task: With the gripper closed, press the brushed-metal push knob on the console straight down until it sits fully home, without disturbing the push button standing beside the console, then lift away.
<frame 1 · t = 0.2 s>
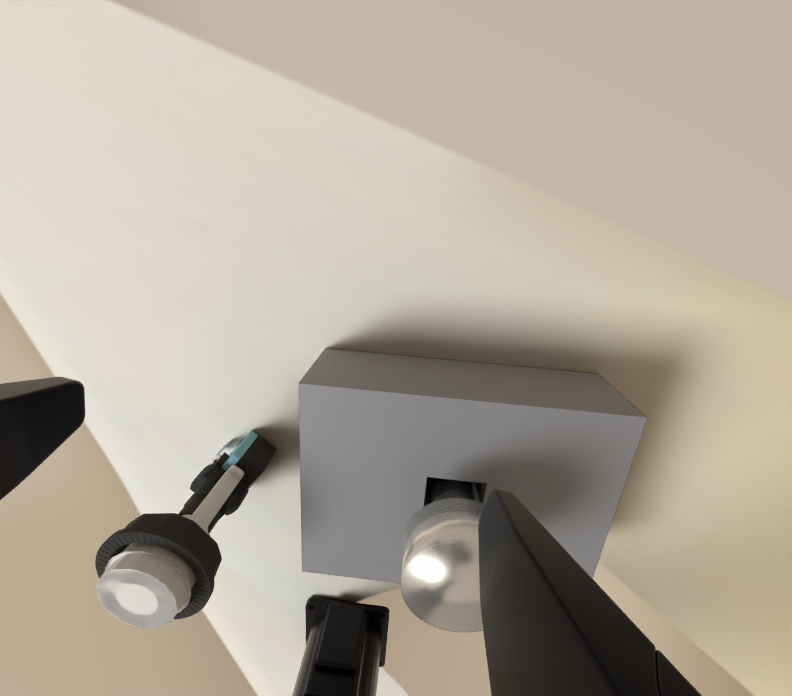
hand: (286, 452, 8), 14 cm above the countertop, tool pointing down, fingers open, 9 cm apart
knob: (454, 518, 18), point 6 cm above the countertop, slide at 0.0 cm
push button: (239, 461, 26), on the countertop
console: (447, 447, 24), on the countertop
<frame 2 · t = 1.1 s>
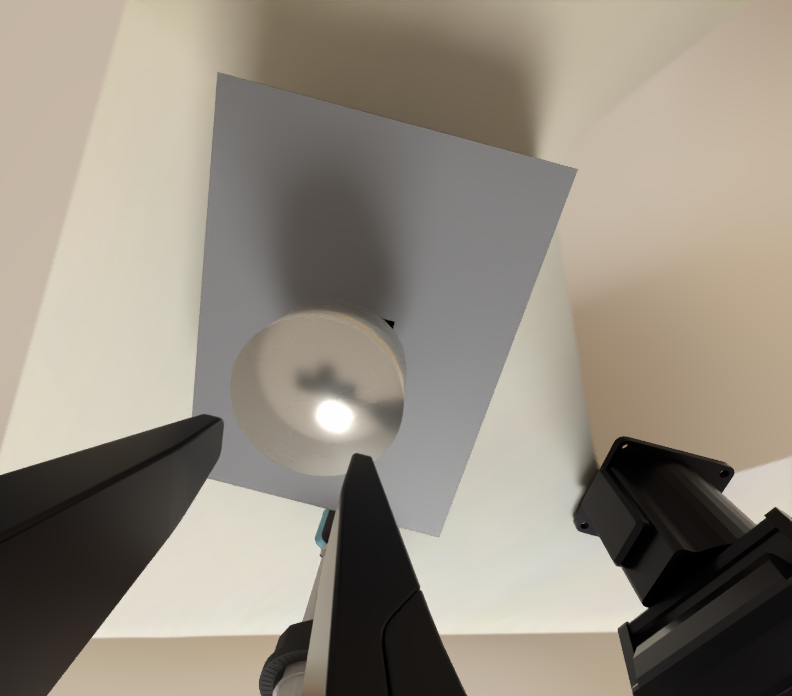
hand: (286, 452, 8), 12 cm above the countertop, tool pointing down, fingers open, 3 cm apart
knob: (343, 355, 14), point 6 cm above the countertop, slide at 0.0 cm
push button: (365, 530, 24), on the countertop
console: (367, 317, 19), on the countertop
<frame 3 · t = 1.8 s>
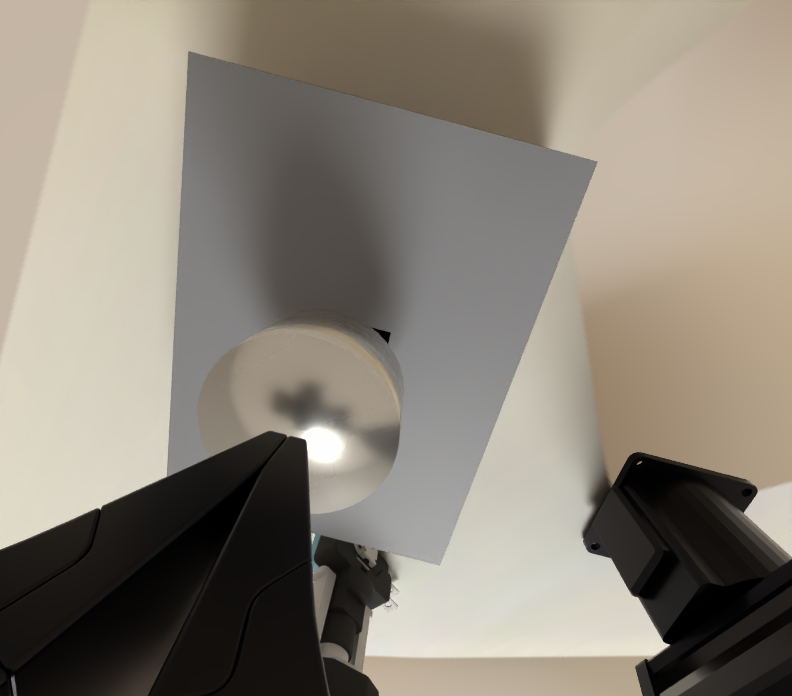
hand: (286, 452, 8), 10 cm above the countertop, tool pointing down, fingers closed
knob: (333, 371, 12), point 6 cm above the countertop, slide at 0.0 cm
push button: (361, 549, 23), on the countertop
console: (362, 324, 18), on the countertop
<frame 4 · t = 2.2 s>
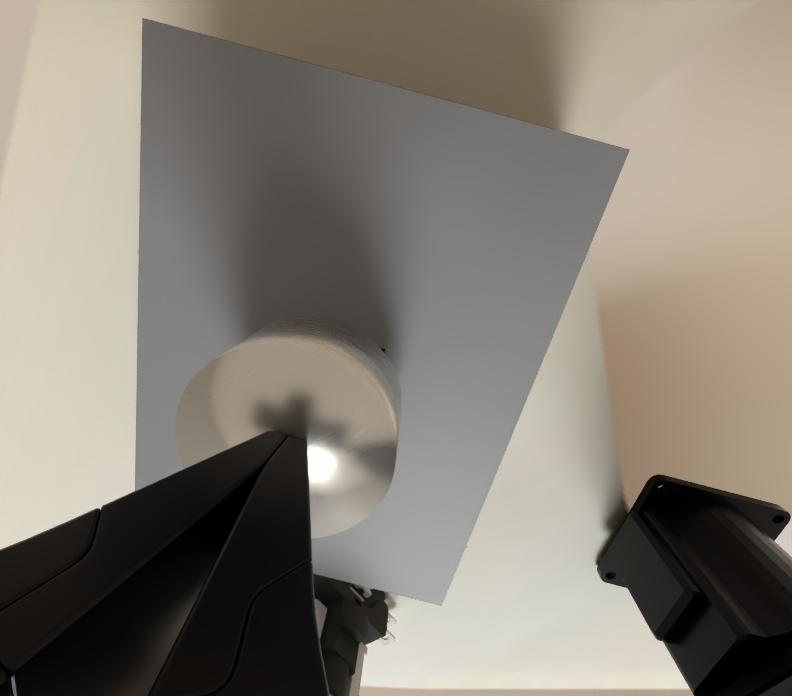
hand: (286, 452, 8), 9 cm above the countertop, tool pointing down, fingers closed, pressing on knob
knob: (327, 380, 11), point 5 cm above the countertop, slide at 1.0 cm, touching gripper
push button: (356, 575, 21), on the countertop
console: (355, 334, 16), on the countertop
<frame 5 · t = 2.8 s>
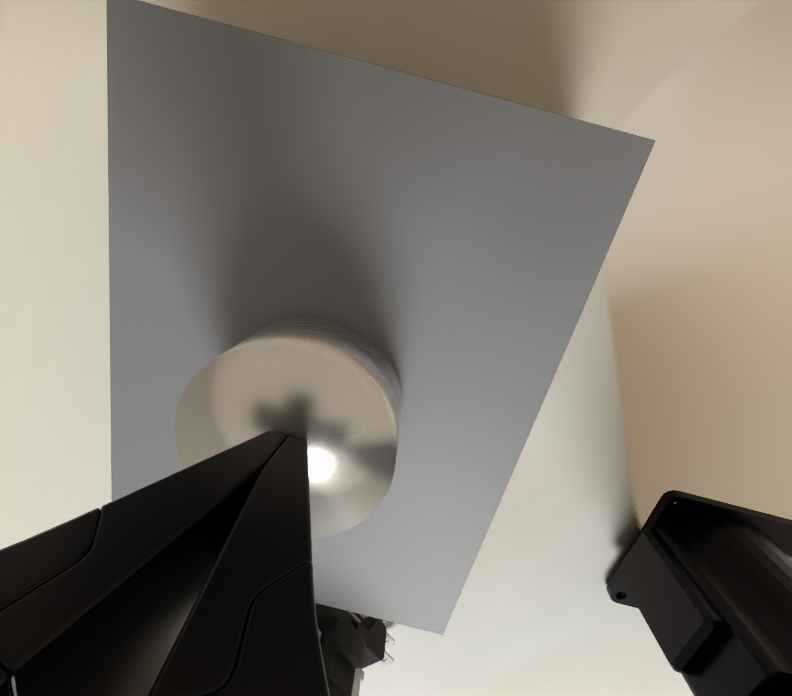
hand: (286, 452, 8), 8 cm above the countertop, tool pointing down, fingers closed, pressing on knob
knob: (327, 380, 11), point 4 cm above the countertop, slide at 2.0 cm, touching gripper
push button: (352, 593, 20), on the countertop
console: (350, 342, 15), on the countertop
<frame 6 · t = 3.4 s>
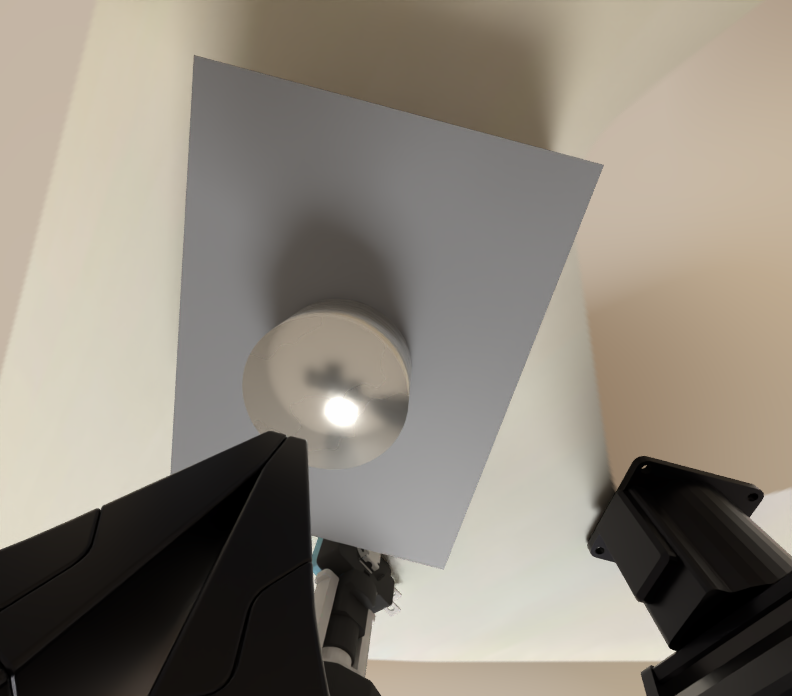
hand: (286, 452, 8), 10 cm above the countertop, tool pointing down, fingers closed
knob: (349, 354, 14), point 4 cm above the countertop, slide at 2.0 cm
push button: (364, 552, 23), on the countertop
console: (365, 327, 18), on the countertop
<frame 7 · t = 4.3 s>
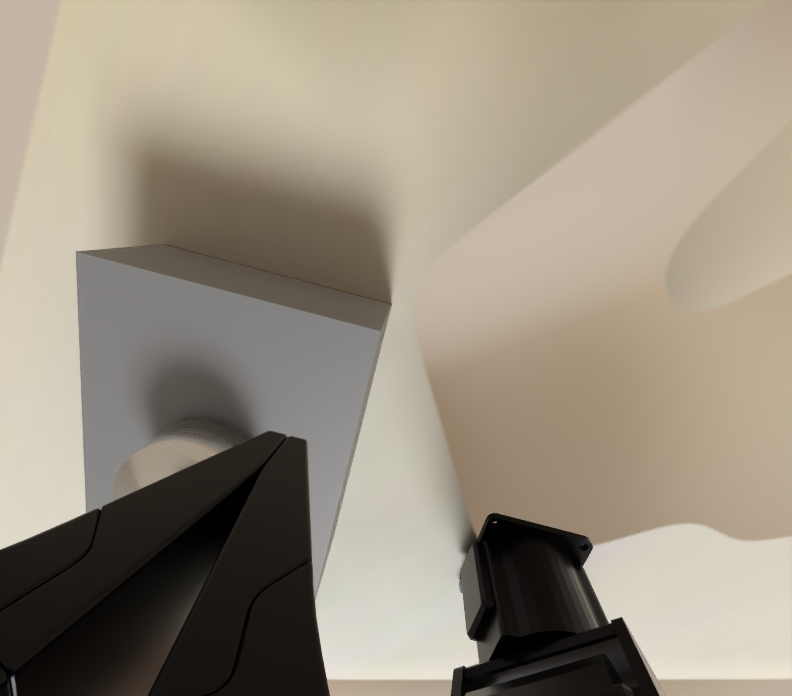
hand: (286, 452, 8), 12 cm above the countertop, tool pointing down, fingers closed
knob: (224, 448, 18), point 4 cm above the countertop, slide at 2.0 cm
console: (258, 409, 22), on the countertop
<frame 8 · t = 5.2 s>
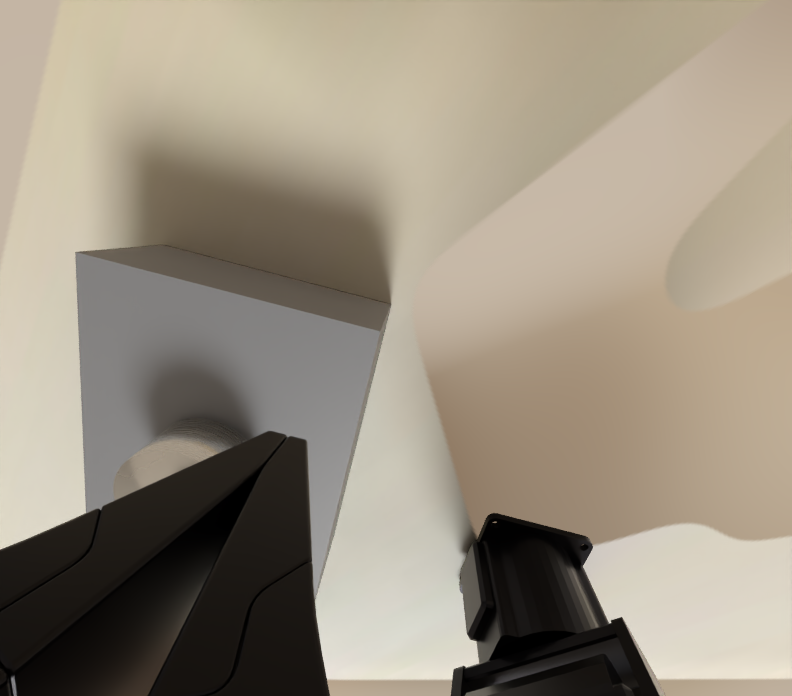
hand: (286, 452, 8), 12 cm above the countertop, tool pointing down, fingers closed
knob: (223, 448, 18), point 4 cm above the countertop, slide at 2.0 cm
console: (258, 409, 22), on the countertop
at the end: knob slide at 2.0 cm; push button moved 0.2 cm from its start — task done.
